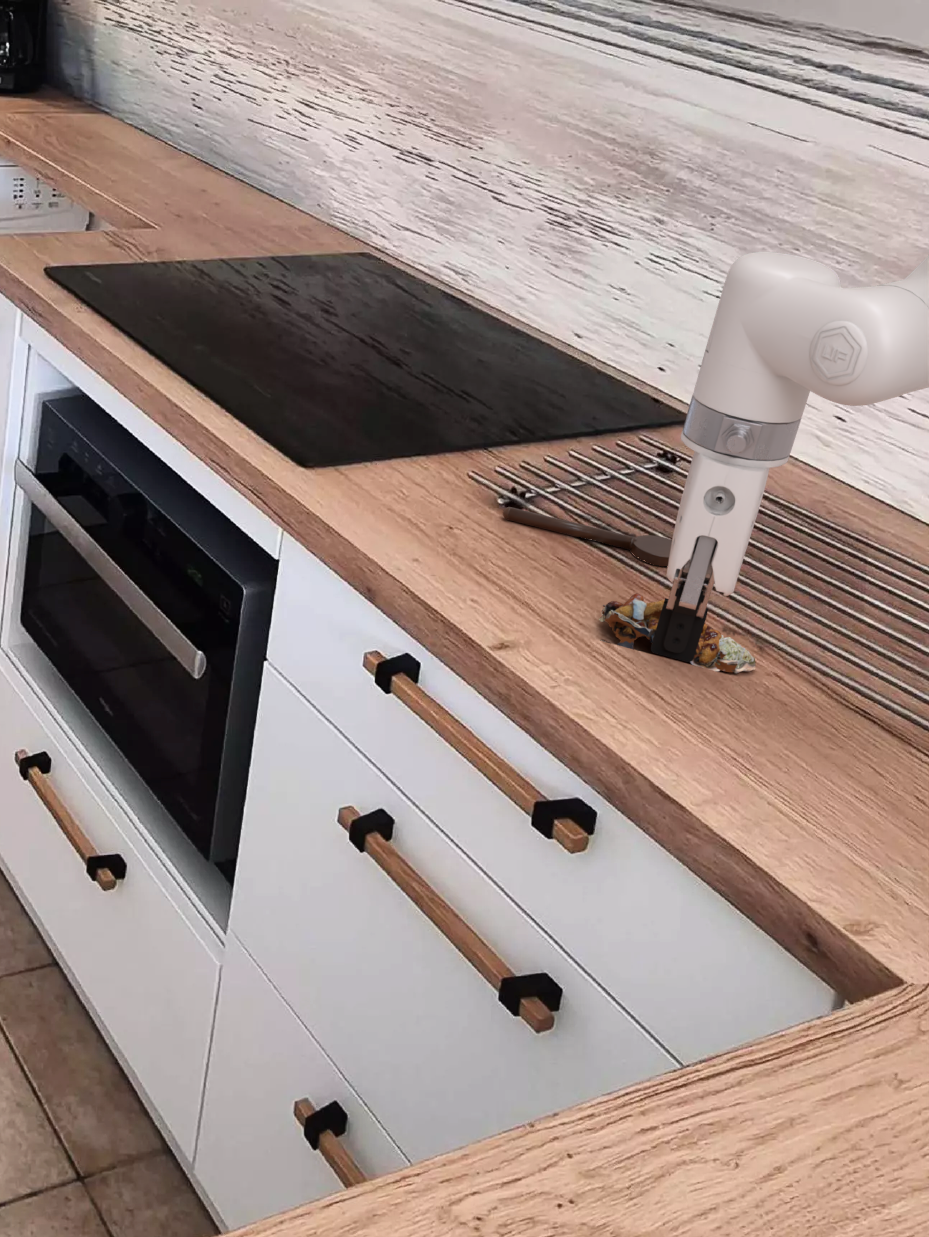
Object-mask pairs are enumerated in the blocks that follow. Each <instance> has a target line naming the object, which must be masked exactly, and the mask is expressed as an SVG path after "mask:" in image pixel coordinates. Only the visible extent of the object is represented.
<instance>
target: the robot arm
mask: <svg viewBox="0 0 929 1237" xmlns="http://www.w3.org/2000/svg"><path fill="white" fill-rule="evenodd" d="M721 290H722V291H721V293H720V297H719V301H718V305H717V307H716V311H715V315H714V318H713V321H712V326H711V329H710V332H709V334H708V335H709V336H708V339H707V343H706V346H705V349H704V353H703V357H702V361H701V364H700V368H699V370H698V375H697V379H696V381H695V386H694V389H693V392H692V395H691V399H690V402H689V405H688V409H687V413H686V416H685V420H684V423H683V426H682V429H681V434H680V441H681V442H682V443H683V445H685V447H687V448H689V449H690V450H692V451H693V454H692V458H691V462H690V464H689V469H688V473H687V476H686V479H685V482H684V487H683V491H682V495H681V499H680V503H679V507H678V510H677V515H676V519H675V525H674V529H673V533H672V539H671V540H672V544H671V550H670V556H669V562H668V567H667V568H666V575H665V576H666V577H667V579H668V581H670V583H672V585H671V589H670V592H669V596H668V598H667V597H665V598H664V599H663V600H664V604H663V607H662V611H661V614H660V617H659V621H658V624H657V628H656V631H655V634H654V638H653V641H652V643H651V645H650V651H651V653H653V654H655V655H659V656H662V657H667V658H671V659H674V660H678V661H681V662H685V663H690V662H691V661H692V660H693V659H694V656H695V653H696V649H697V646H698V643H699V640H700V636H701V633H702V630H703V627H704V624H706V620H707V617H708V613H709V612H708V611H709V608H707V606H708V603H709V600H710V597H711V595H712V590H713V589H714V587H715V591H716V592H718V593H723V594H722V596H723V597H729V596H731V595H732V594H733V593H734V592H735V589H736V585H737V582H738V578H739V575H740V572H741V568H742V564H743V562H744V558H745V556H746V553H747V549H748V546H749V543H750V539H751V537H752V533H753V531H754V530H753V529H754V527H755V523H756V521H757V517H758V514H759V510H760V508H761V504H762V500H763V497H764V493H765V489H766V486H767V482H768V477H769V473H770V469H772V468H778V467H782V466H784V465H786V464H787V463H788V461H789V459H790V455H791V453H792V449H793V447H794V443H795V440H796V438H797V434H798V431H799V428H800V424H801V422H802V417H803V415H804V412H805V408H806V405H807V402H808V399H809V396H810V394H811V393H813V394H815V395H816V396H819V397H820V398H822V399H824V400H827V401H830V402H832V403H836V404H839V405H843V406H851V407H862V406H863V407H864V406H868V405H873V404H878V403H880V402H885V401H887V400H891V399H894V398H899V397H901V396H903V395H906V394H910V393H913V392H916V391H920V390H924V389H927V388H929V254H928V255H927V256H926V257H925V258H924V259H923V260H922V261H921V262H920V263H919V264H918V265H917V266H915V269H913V270H912V271H911V272H910V273H909V274H908V275H907V276H906V277H905V278H903V279H901V280H896V281H891V282H888V283H882V284H878V285H877V284H876V285H872V286H871V285H870V286H859V287H858V286H857V287H842V282H841V278H840V276H839V275H838V273H837V271H836V270H834V269H833V268H832V267H830V266H828V265H827V264H824V263H822V262H820V261H818V260H815V259H812V258H808V257H805V256H800V255H796V254H791V253H784V252H777V251H755V252H748V253H745V254H743V255H741V256H739V257H738V258H737V259H736V260H735V261H733V263H732V264H731V265H730V268H729V269H728V272H727V275H726V277H725V279H724V282H723V287H722V289H721Z"/></svg>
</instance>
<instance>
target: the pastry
mask: <svg viewBox="0 0 929 1237" xmlns="http://www.w3.org/2000/svg"><path fill="white" fill-rule="evenodd" d="M664 600H665V599H660V600H657V601H653V602H645V600H644V596H643V595H642V594H640V593H634V594H633V595H631V597H630V598H629V599H628V600H626V601H625V602H624V603H622V602H620V601H617V600H611V601H608V602H607V604H602V610H601V617H599V618H598V621H599V622H602V623H604V622H606V623H607V624H608V626H609V627H610V628H612V630H611V632H613V634H614V635H615V637H616V638H618V640H619V641H618V643H616V646H619V647H622V648H627V649H630V650H634V644H635V641H636V640H638V639H639V638H645V637H646V639H647V641H649V643H651V644H652V641H653V638H654V634H655V631H656V628H657V624H658V621H659V617H660V614H661V611H662V607H663V604H664ZM599 641H600V642H604V643H608V644H611V642H610V641H609V642H608V641H607V640H605V639H599ZM689 663H690V665H692V666H695V667H699V668H701V669H702V668H703V669H705V670H710V671H714V672H720V671H723V672H727V673H733V674H734V675H736V674H739V673H741V672H751V671H754V670H756V658H755V656H753V655H752V654H751V652H750V651H749V650H748V649H746V647H743V646H742V644H740V643H738V642H737V641H736V640H735V639H733V638H732V637H730V636H726V637H724V635H723V634H722V633H721V631H719V630H716V629H714V628H712V627H710V625H707V624H706V623H705V624H704V627H703V630H702V633H701V636H700V640H699V643H698V646H697V649H696V653H695V656H694V659H693V660H692V661H691V662H689Z"/></svg>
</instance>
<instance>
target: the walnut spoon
mask: <svg viewBox="0 0 929 1237" xmlns="http://www.w3.org/2000/svg"><path fill="white" fill-rule="evenodd" d="M502 517H503V519H504V520H506V521H510V522H514V523H519V524H523V525H527V526H531V527H535V528H539V529H543V530H547V531H551V532H554V533H559V534H563V535H567V536H571V537H575V538H579V537H582V538H581V539H583V538H586V539H585V540H587V539H592V540H596V541H598V542H597V543H599V542H603V543H602V544H604V543H606V544H605V545H608V544H610V545H609V546H612V545H613V547H616V548H620V547H621V549H624V550H628V549H629V550H628V551H630V553H631V552H632V553H633V554H634V555H635V556H636V557H639V559H641V560H645V561H646V562H648V563H651V564H654V565H653V566H655V565H659V566H658V567H660V566H668V562H669V556H670V550H671V544H672V539H671V538H667V537H664V536H659V535H650V534H645V535H643V534H642V535H637V536H631V535H627V534H623V533H620V532H619V533H618V532H615V531H610V530H606V529H603V528H598V527H594V526H591V525H587V524H581V523H577V522H573V521H569V520H565V519H561V518H558V517H554V516H550V515H544V514H541V513H536V512H532V511H529V510H524V509H520V508H516V507H511V506H508V507H505V508H504V509H503V510H502ZM636 557H635V558H636ZM639 559H638V560H639ZM641 560H640V561H641ZM648 563H647V564H648ZM651 564H650V565H651Z"/></svg>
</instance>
